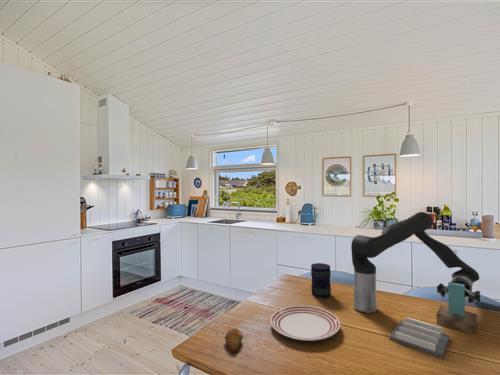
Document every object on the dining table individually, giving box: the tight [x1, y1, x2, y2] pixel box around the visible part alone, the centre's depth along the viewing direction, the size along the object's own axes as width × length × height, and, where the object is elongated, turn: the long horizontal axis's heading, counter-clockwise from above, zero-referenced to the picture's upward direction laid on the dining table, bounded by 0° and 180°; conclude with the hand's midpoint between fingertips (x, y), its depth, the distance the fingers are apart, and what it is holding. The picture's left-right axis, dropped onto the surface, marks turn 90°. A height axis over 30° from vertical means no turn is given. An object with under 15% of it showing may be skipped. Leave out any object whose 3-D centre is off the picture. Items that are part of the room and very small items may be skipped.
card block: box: [447, 281, 466, 317], centre depth 109 cm, size 5×2×12 cm, turn 46°
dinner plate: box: [270, 305, 341, 342], centre depth 109 cm, size 27×27×3 cm
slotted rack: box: [389, 316, 451, 358], centre depth 99 cm, size 16×15×3 cm
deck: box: [436, 304, 478, 335], centre depth 109 cm, size 12×10×4 cm
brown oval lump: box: [224, 327, 244, 354], centre depth 99 cm, size 14×7×5 cm, turn 2°
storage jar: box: [310, 262, 332, 299], centre depth 140 cm, size 10×10×15 cm
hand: (456, 297), depth 108 cm, fingers open, 8 cm apart
